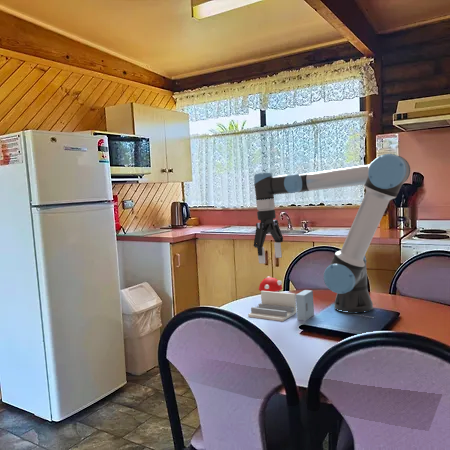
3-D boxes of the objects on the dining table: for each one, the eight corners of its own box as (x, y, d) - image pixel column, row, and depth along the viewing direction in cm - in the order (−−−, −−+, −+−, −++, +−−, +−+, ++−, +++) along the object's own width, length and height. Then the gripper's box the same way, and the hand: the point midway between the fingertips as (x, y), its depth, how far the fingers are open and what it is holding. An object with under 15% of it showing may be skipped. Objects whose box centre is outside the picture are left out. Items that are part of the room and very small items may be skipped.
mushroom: (282, 306, 183) (281, 279, 182) (258, 306, 185) (256, 280, 184) (284, 299, 193) (282, 274, 192) (260, 300, 195) (259, 275, 194)
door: (306, 313, 169) (304, 289, 168) (314, 314, 167) (313, 290, 166) (297, 319, 163) (295, 294, 162) (306, 320, 161) (304, 295, 160)
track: (296, 312, 172) (295, 293, 171) (282, 321, 162) (281, 301, 161) (263, 308, 181) (261, 290, 181) (248, 316, 172) (247, 297, 171)
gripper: (273, 208, 185) (277, 255, 186) (241, 213, 165) (246, 265, 167) (288, 206, 181) (292, 255, 182) (257, 211, 161) (262, 266, 162)
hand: (270, 260), depth 174 cm, fingers open, 13 cm apart
